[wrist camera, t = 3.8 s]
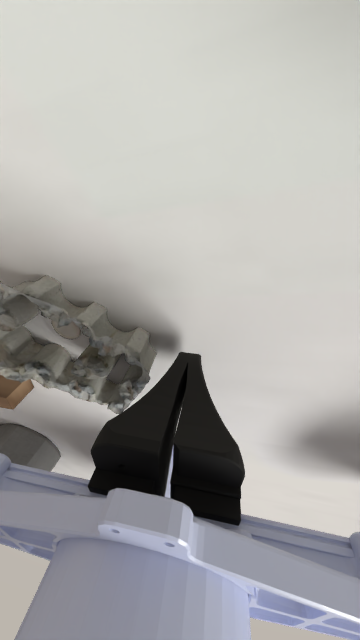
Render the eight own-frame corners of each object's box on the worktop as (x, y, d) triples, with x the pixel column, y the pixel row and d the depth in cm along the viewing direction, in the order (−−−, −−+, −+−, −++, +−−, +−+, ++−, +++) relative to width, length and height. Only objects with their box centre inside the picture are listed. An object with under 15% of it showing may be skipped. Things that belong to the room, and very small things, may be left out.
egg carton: (16, 329, 18) (-34, 363, 14) (34, 253, 14) (-29, 275, 10) (128, 393, 19) (107, 437, 16) (172, 342, 16) (157, 386, 12)
